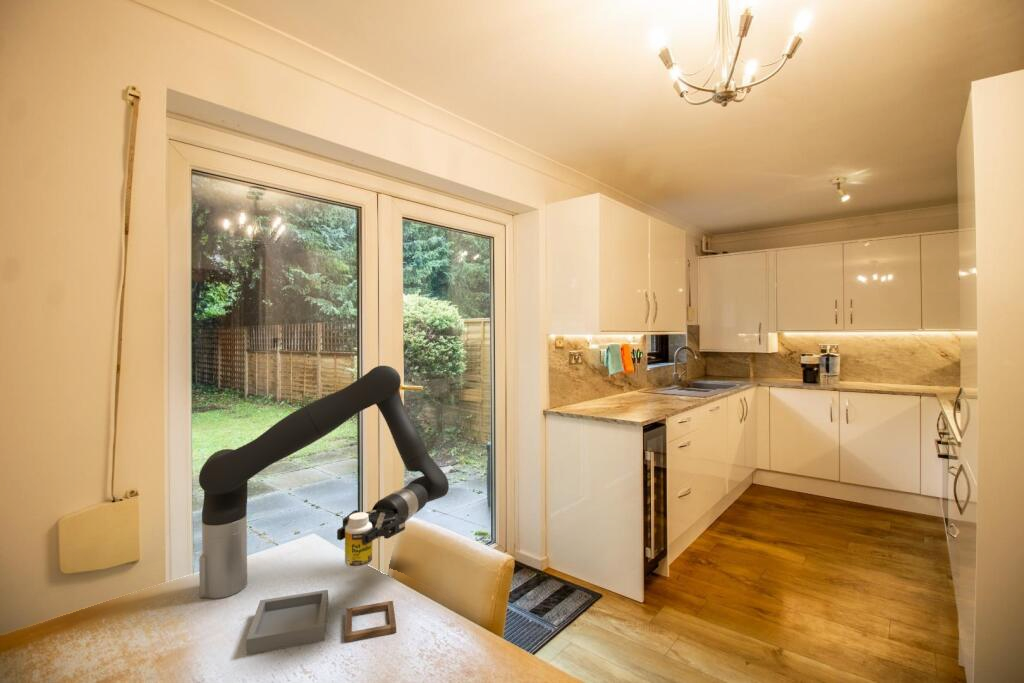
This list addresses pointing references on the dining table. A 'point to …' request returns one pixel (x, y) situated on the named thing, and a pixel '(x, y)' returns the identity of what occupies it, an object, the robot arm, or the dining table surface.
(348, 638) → the holder frame
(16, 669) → the dining table surface
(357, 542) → the supplement bottle
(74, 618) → the dining table surface
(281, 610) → the tray
